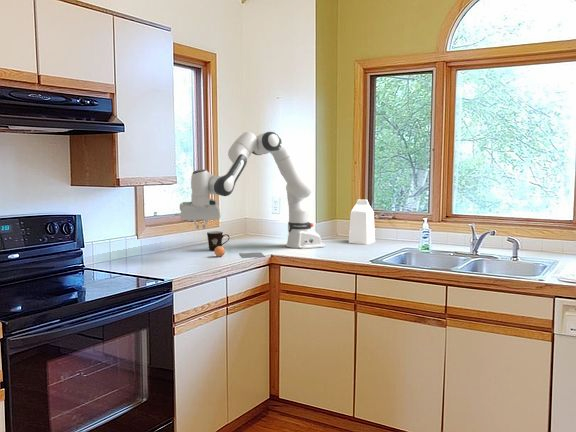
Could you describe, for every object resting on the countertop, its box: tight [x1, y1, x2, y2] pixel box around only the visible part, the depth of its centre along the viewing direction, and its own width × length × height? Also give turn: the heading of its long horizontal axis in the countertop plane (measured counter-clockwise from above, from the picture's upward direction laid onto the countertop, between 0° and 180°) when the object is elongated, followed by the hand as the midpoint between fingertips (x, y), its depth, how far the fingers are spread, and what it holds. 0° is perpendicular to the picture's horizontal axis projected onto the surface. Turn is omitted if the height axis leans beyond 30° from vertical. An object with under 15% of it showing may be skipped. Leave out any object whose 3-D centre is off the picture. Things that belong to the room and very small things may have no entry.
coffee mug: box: [206, 230, 230, 252], centre depth 304 cm, size 12×9×10 cm
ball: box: [213, 245, 226, 258], centre depth 285 cm, size 6×6×6 cm
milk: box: [348, 199, 376, 245], centre depth 330 cm, size 12×12×26 cm
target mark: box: [239, 252, 266, 259], centre depth 289 cm, size 12×12×1 cm
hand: (200, 228), depth 281 cm, fingers open, 2 cm apart
